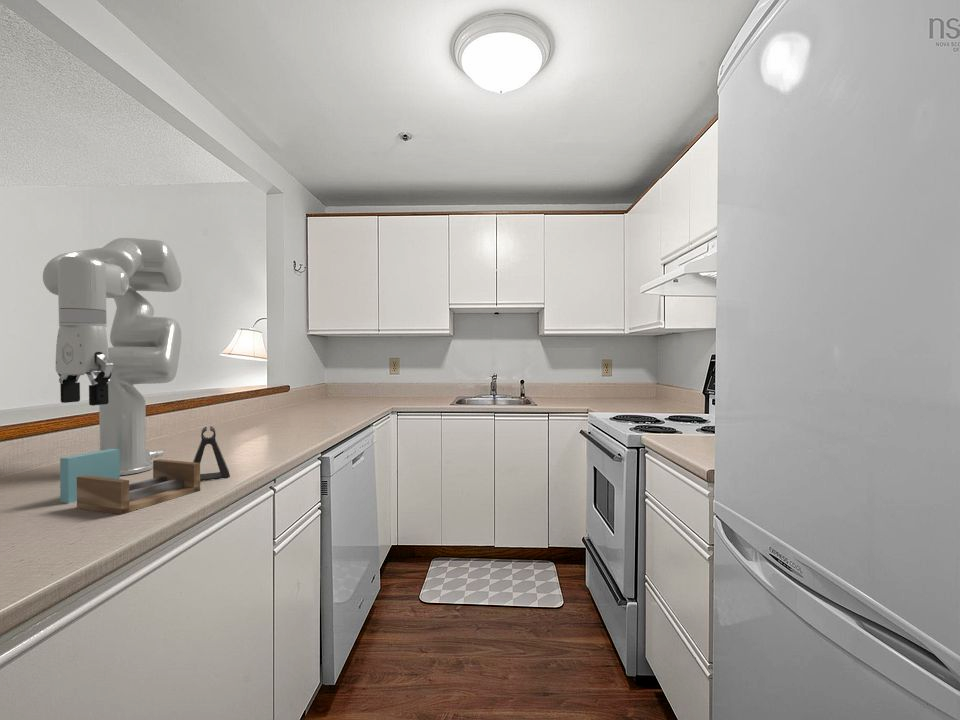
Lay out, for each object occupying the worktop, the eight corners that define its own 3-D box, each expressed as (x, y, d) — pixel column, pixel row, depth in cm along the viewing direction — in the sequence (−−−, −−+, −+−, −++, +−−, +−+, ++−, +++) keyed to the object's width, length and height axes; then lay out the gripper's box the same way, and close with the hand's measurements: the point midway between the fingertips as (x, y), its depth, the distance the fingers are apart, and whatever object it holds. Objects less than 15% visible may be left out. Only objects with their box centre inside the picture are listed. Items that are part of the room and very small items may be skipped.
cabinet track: (159, 485, 110) (159, 459, 110) (200, 490, 107) (200, 462, 107) (76, 507, 94) (76, 476, 94) (121, 514, 91) (120, 482, 90)
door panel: (111, 489, 108) (111, 448, 107) (119, 490, 107) (119, 449, 107) (60, 502, 98) (60, 457, 98) (68, 503, 97) (68, 458, 97)
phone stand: (229, 472, 123) (229, 425, 123) (229, 477, 118) (229, 428, 118) (187, 476, 119) (187, 427, 119) (186, 482, 113) (186, 430, 113)
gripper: (36, 318, 99) (38, 403, 99) (87, 317, 92) (88, 408, 93) (79, 320, 106) (80, 399, 106) (129, 319, 99) (130, 403, 99)
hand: (84, 403), depth 99 cm, fingers open, 9 cm apart
